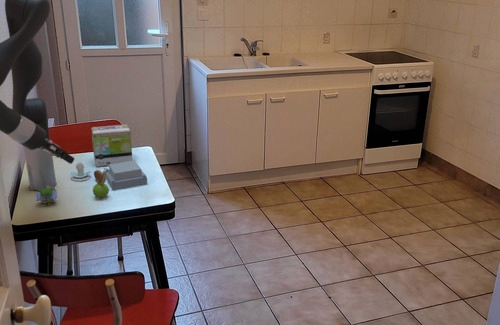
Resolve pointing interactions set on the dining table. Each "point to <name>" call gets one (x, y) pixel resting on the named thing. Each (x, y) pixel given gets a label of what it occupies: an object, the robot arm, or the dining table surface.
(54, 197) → the geometric puzzle
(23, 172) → the dining table surface
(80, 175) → the pacifier
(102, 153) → the tea box
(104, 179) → the snail figurine
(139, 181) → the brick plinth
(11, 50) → the robot arm
